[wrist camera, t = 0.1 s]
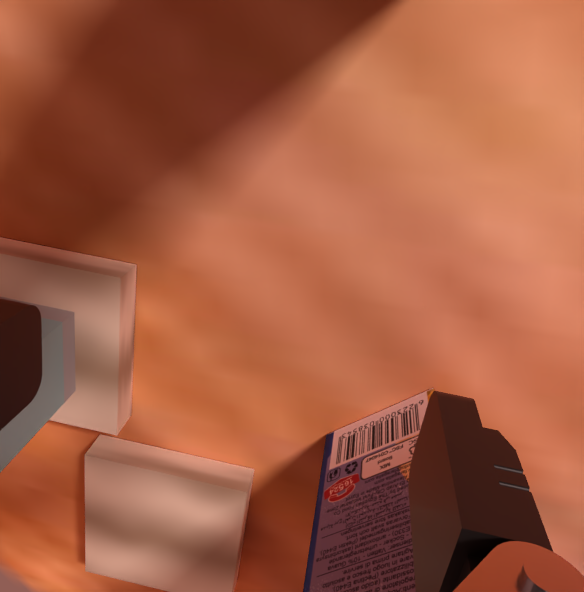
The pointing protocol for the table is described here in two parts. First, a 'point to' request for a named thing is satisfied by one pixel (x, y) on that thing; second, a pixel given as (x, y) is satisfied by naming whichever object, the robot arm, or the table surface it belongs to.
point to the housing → (44, 381)
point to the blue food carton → (366, 504)
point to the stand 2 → (164, 516)
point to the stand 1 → (83, 324)
